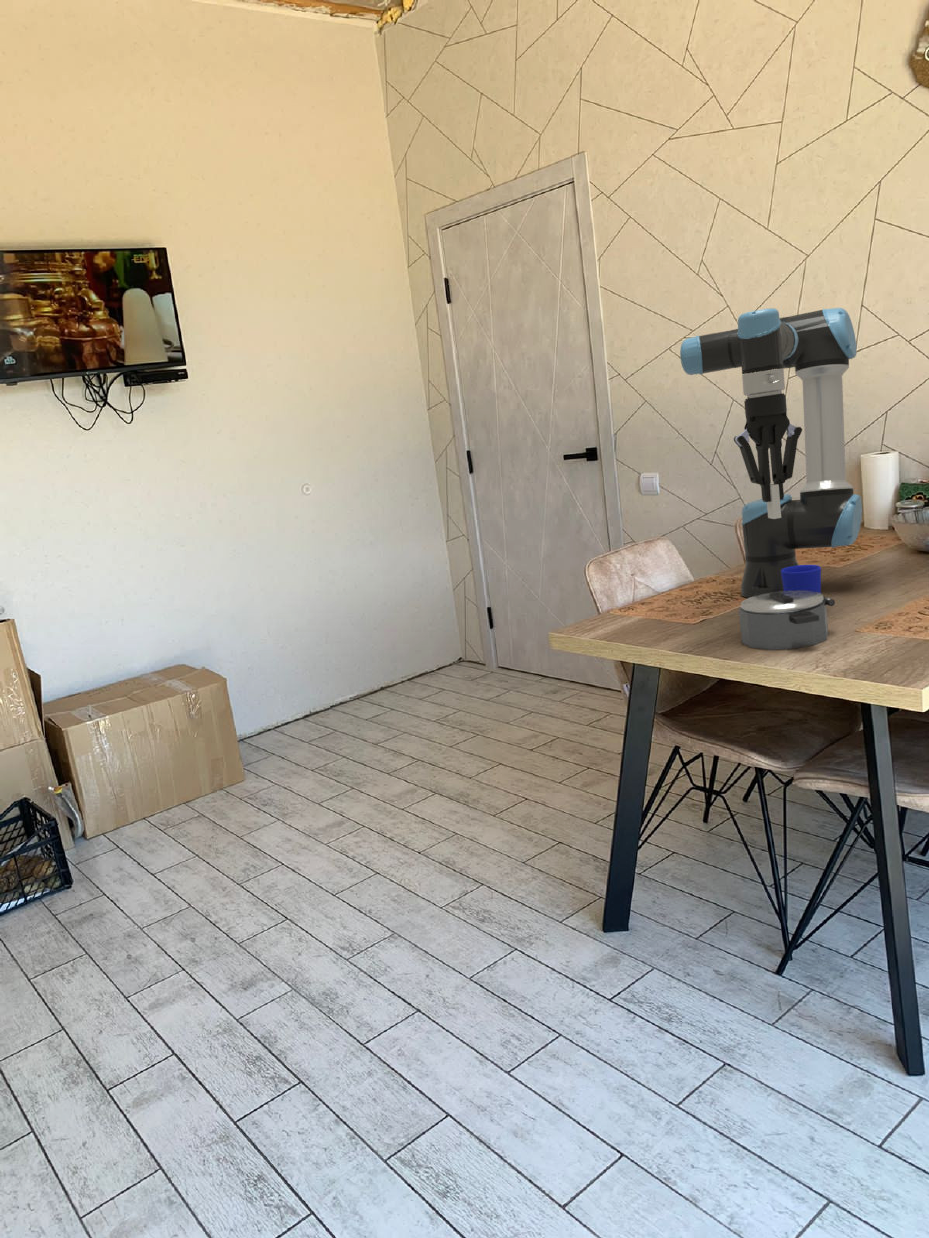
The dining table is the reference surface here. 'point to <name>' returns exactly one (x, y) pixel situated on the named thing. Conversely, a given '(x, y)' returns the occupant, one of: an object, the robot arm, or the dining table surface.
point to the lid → (782, 602)
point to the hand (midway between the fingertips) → (774, 517)
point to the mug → (802, 578)
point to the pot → (785, 628)
